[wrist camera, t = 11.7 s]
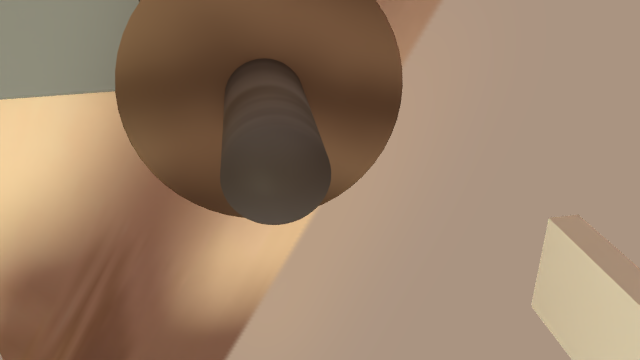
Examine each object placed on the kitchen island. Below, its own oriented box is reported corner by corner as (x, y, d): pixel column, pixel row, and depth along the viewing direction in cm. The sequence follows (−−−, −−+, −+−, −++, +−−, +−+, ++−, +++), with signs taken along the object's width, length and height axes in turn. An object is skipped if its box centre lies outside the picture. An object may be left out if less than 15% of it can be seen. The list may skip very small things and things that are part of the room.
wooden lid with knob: (392, 194, 29) (453, 306, 21) (149, 220, 27) (114, 350, 19) (401, -68, 22) (491, -52, 15) (87, -52, 21) (-2, -25, 13)
